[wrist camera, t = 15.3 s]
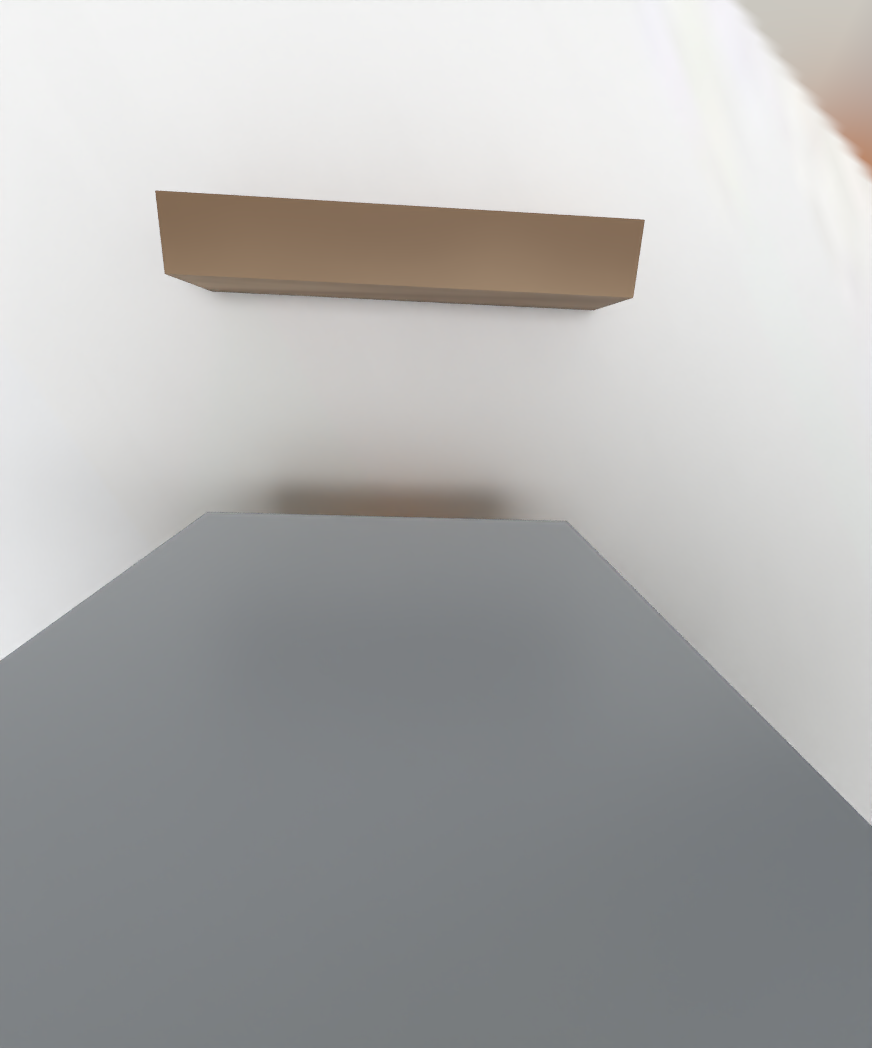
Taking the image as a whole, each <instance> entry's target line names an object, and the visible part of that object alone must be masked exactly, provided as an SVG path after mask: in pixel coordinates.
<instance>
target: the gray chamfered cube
mask: <svg viewBox="0 0 872 1048" xmlns="http://www.w3.org/2000/svg"><path fill="white" fill-rule="evenodd" d="M0 1048H872V826H871V825H870V824H869V823H868V822H867V821H866V820H865V819H864V818H863V817H862V816H861V815H860V814H859V813H858V812H857V811H856V810H855V809H854V808H853V807H852V806H851V805H850V804H849V803H848V802H847V801H846V800H845V799H844V798H843V797H842V796H841V795H840V794H839V793H838V792H837V791H836V790H835V789H834V788H833V787H832V786H831V785H830V784H829V783H828V782H827V781H826V780H825V779H824V778H823V777H822V776H821V775H820V774H819V773H818V772H817V771H816V770H815V769H814V768H813V767H812V766H811V765H810V764H809V763H808V762H807V761H806V760H805V759H804V758H803V757H802V756H801V755H800V754H799V753H798V752H797V751H796V750H795V749H794V748H793V747H792V746H791V745H790V744H789V743H788V742H787V741H786V740H785V739H784V738H783V737H782V736H781V735H780V734H779V733H778V732H777V731H776V730H775V729H774V728H773V727H772V726H771V725H770V724H769V723H768V722H767V721H766V720H765V719H764V718H763V717H762V716H761V715H760V714H759V713H758V712H757V711H756V710H755V709H754V708H753V707H752V706H751V705H750V704H749V703H748V702H747V701H746V700H745V699H744V698H743V697H742V696H741V695H740V694H739V693H738V692H737V691H736V690H735V689H734V688H733V687H732V686H731V685H730V684H729V683H728V682H727V681H726V680H725V679H724V678H723V677H722V676H721V675H720V674H719V673H718V672H717V671H716V670H715V669H714V668H713V667H712V666H711V665H710V664H709V663H708V662H707V661H706V660H705V659H704V658H703V657H702V656H701V655H700V654H699V653H698V652H697V651H696V650H695V649H694V648H693V647H692V646H691V645H690V644H689V643H688V642H687V641H686V640H685V639H684V638H683V637H682V636H681V635H680V634H679V633H678V632H677V631H676V630H675V629H674V628H673V627H672V626H671V625H670V624H669V623H668V622H667V621H666V620H665V619H664V618H663V617H662V616H661V615H660V614H659V613H658V612H657V611H656V610H655V609H654V608H653V607H652V606H651V605H650V604H649V603H648V602H647V601H646V600H645V599H644V598H643V597H642V596H641V595H640V594H639V593H638V592H637V591H636V590H635V589H634V588H633V587H632V586H631V585H630V584H629V583H628V582H627V581H626V580H625V579H624V578H623V577H622V576H621V575H620V574H619V573H618V572H617V571H616V570H615V569H614V568H613V567H612V566H611V565H610V564H609V563H608V562H607V561H606V560H605V559H604V558H603V557H602V556H601V555H600V554H599V553H598V552H597V551H596V550H595V549H594V548H593V547H592V546H591V545H590V544H589V543H588V542H587V541H586V540H585V539H584V538H583V537H582V536H581V535H580V534H579V533H578V532H577V531H576V530H575V529H574V528H573V527H572V526H571V525H570V524H569V523H568V522H567V521H544V520H504V519H464V518H424V517H384V516H344V515H304V514H264V513H224V512H207V513H205V514H204V515H202V516H201V517H200V518H198V519H197V520H195V521H194V522H193V523H191V524H190V525H188V526H187V527H186V528H184V529H183V530H182V531H180V532H179V533H177V534H176V535H175V536H173V537H172V538H170V539H169V540H168V541H166V542H165V543H163V544H162V545H161V546H159V547H158V548H156V549H155V550H154V551H152V552H151V553H150V554H148V555H147V556H145V557H144V558H143V559H141V560H140V561H138V562H137V563H136V564H134V565H133V566H131V567H130V568H129V569H127V570H126V571H125V572H123V573H122V574H120V575H119V576H118V577H116V578H115V579H113V580H112V581H111V582H109V583H108V584H106V585H105V586H104V587H102V588H101V589H99V590H98V591H97V592H95V593H94V594H93V595H91V596H90V597H88V598H87V599H86V600H84V601H83V602H81V603H80V604H79V605H77V606H76V607H74V608H73V609H72V610H70V611H69V612H68V613H66V614H65V615H63V616H62V617H61V618H59V619H58V620H56V621H55V622H54V623H52V624H51V625H49V626H48V627H47V628H45V629H44V630H42V631H41V632H40V633H38V634H37V635H36V636H34V637H33V638H31V639H30V640H29V641H27V642H26V643H24V644H23V645H22V646H20V647H19V648H17V649H16V650H15V651H13V652H12V653H11V654H9V655H8V656H6V657H5V658H4V659H2V660H1V661H0Z"/></svg>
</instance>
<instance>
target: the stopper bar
mask: <svg viewBox="0 0 872 1048" xmlns="http://www.w3.org/2000/svg"><path fill="white" fill-rule="evenodd" d="M155 192H156V201H157V210H158V218H159V227H160V236H161V244H162V253H163V262H164V270H165V274H167V275H169V276H172V277H175V278H178V279H180V280H183V281H186V282H188V283H191V284H194V285H197V286H199V287H202V288H205V289H207V290H210V291H218V292H238V293H258V294H279V295H299V296H319V297H339V298H359V299H380V300H400V301H420V302H440V303H460V304H480V305H501V306H521V307H541V308H561V309H581V310H595V309H599V308H602V307H605V306H608V305H611V304H615V303H618V302H621V301H624V300H627V299H631V298H633V295H634V288H635V281H636V275H637V268H638V261H639V255H640V248H641V241H642V234H643V228H644V221H645V220H640V219H624V218H607V217H590V216H573V215H557V214H540V213H523V212H506V211H489V210H473V209H456V208H439V207H422V206H406V205H389V204H372V203H355V202H339V201H322V200H305V199H288V198H271V197H255V196H238V195H221V194H204V193H188V192H171V191H155Z"/></svg>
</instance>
